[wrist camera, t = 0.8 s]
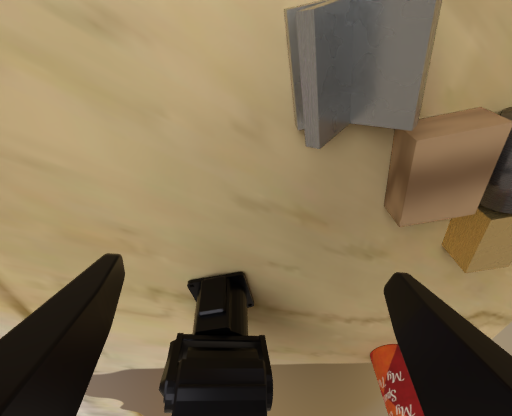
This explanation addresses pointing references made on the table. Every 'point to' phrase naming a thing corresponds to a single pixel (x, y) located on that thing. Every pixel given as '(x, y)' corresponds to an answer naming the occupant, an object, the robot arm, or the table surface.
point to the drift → (480, 240)
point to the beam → (443, 165)
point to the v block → (359, 63)
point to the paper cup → (395, 381)
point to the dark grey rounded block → (501, 177)
